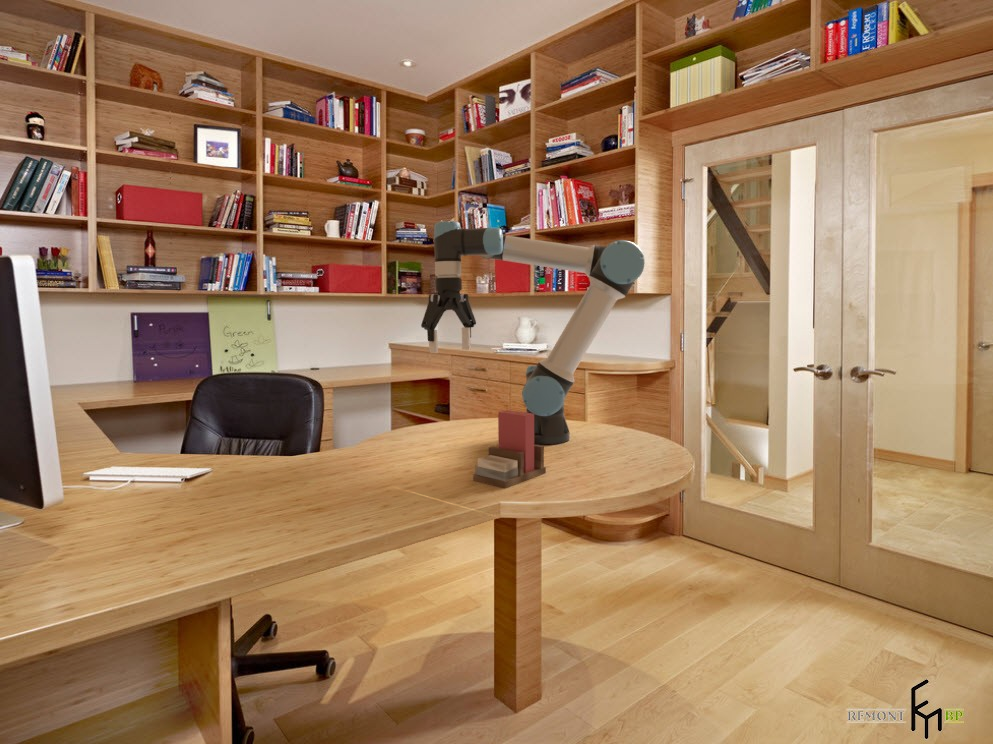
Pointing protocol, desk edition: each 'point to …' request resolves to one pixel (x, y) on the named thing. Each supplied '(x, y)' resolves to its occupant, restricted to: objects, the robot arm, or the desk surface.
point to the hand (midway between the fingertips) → (450, 351)
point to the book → (517, 434)
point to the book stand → (507, 467)
